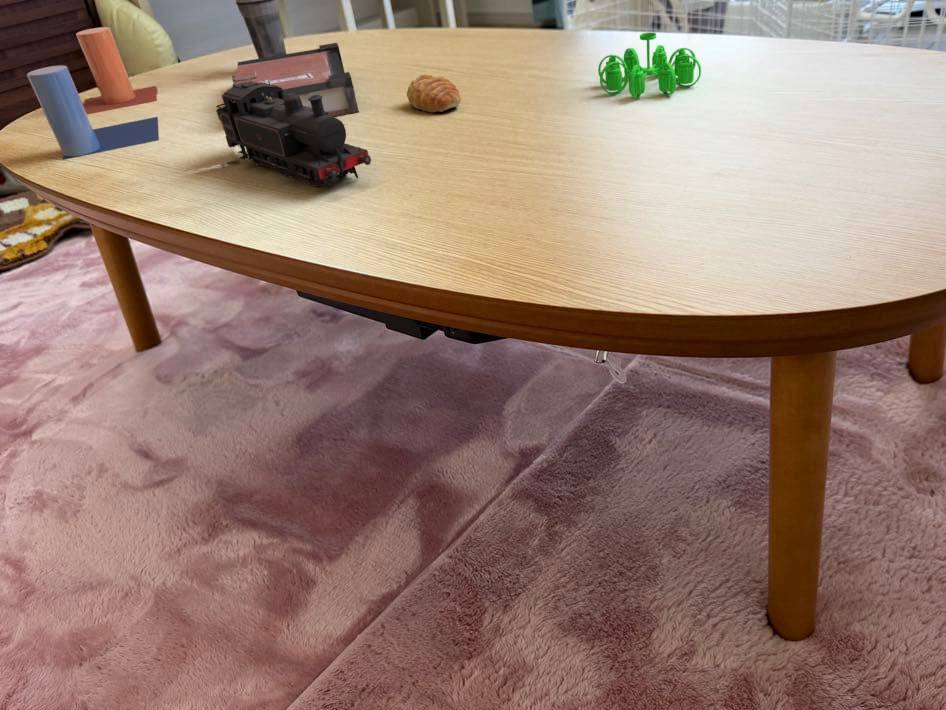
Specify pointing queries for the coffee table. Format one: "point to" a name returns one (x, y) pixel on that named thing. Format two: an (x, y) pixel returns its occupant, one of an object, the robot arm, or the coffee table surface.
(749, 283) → the coffee table surface
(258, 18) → the beverage cup
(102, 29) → the tall orange cylinder
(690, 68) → the chandelier
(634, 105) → the coffee table surface
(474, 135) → the coffee table surface
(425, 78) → the pastry
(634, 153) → the coffee table surface
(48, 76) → the tall blue cylinder
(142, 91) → the terracotta mat
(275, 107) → the toy train
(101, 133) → the blue mat
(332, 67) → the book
